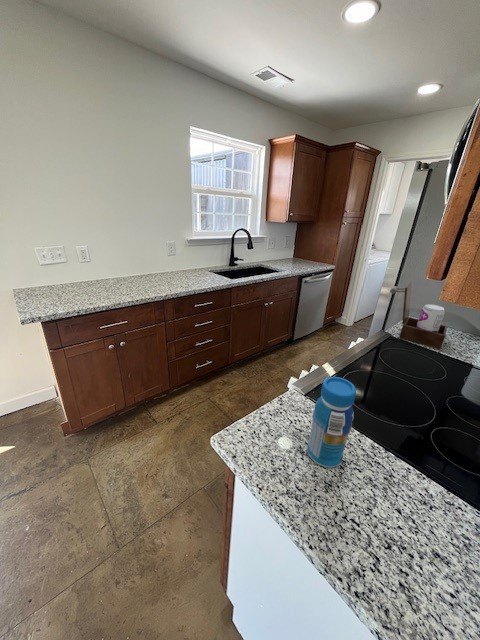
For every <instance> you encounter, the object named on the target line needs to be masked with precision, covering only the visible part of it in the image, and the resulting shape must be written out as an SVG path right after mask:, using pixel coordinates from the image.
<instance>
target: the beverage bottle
mask: <svg viewBox="0 0 480 640" xmlns="http://www.w3.org/2000/svg"><path fill="white" fill-rule="evenodd" d="M356 396H357V388H356V386H355V385H354V384H353V383H352V382H351V381H349V380H347V379H346V378H344V377H339V376H330V377H326V378H325V379H324V380H323V382H322V385H321V389H320V397H319V398H318V399H317V400H316V401H315V405H314V410H313V412H312V415H311V416H312V417H311V420H312V422H311V428H310V433H309V439H308V442H307V447H306V451H307V453H308V456H309V458H310V459H311V460H312V461H313V462H315V464H317V465H319V466H321V467H324V468H335V467H338V466H339V465H340V464H341V463H342V462H343V459H344V454H345V448H346V446H347V441H348V437H349V434H350V433H351V432H352V428H353V421H354V418H355V412H354V407H353V405H354V402H355V399H356Z"/></svg>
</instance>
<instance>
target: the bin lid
mask: <svg viewBox="0 0 480 640" xmlns="http://www.w3.org/2000/svg"><path fill="white" fill-rule="evenodd" d="M412 285H413V283H412V281H409V283H407V285H406V286H405V287H398V286H397V285H394V286H393V287H392V288H390V290H389V293H390V294H392V295H393V294H395V293H404V298H403V309H402V321H401V324H402V325H403V324H405V322H406V320H407V318H408V317H410V309H411V297H412V296H411V295H412Z"/></svg>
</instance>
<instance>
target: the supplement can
mask: <svg viewBox="0 0 480 640" xmlns="http://www.w3.org/2000/svg"><path fill="white" fill-rule="evenodd" d="M445 314H446V310H445V308H444V307H443V306H441V305H438V304H431V303H429V304H428V303H427V304H424V306H423V307H422V309H421V311H420V314H419V317H418V319H419V320H418V323H417V326H416V328H419V329H423V330H427V331H431V332H435V333H438V330H439V328H440V325H442V322H443V319H444V316H445Z"/></svg>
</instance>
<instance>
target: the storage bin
mask: <svg viewBox="0 0 480 640" xmlns="http://www.w3.org/2000/svg"><path fill="white" fill-rule="evenodd" d="M418 320H419V318H414V317H410V316H409V317H408V318H407V320H406V322H405V324H402V326H401V329H400V333H399V337H398V339H400V340H403V341H407V342H410V343H414V344H417V345H421V346H424V347H427V348H431V349H435V350H439V351H441V348H442V346H443V343H444V341H445V339H446V335H447V331H448V325H444V324H441V325H440V328H439V330H438V333H435V332H431V331H427V330H423V329H419V328H416V326H417V323H418Z"/></svg>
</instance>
